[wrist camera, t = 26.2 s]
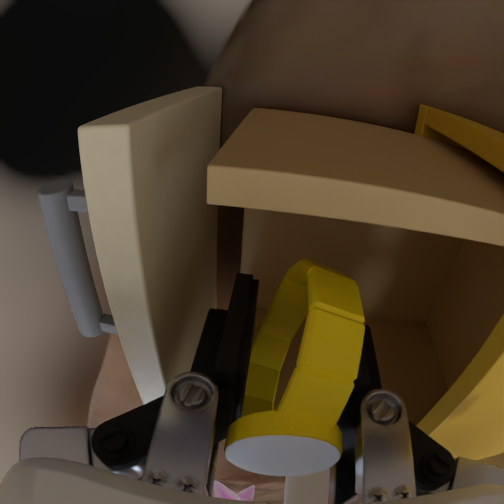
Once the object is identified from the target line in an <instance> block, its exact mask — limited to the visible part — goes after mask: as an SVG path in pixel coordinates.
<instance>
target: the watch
mask: <svg viewBox="0 0 504 504" xmlns="http://www.w3.org/2000/svg"><path fill="white" fill-rule="evenodd" d="M306 317H307V319H306V324H305V328H304V333H303V337H302V341H301V346H300V350H299V354H298V359H297V363H296V365H297V367H296V368H295V369H294V371H293V374H292V376H291V378H290V381H289V383H288V385H287V388H286V390H285V392H284V395H283V397H282V399H281V401H280V404H279V406H278V408H277V410H274V404H273V402H274V400H275V395H276V390H277V386H278V381H279V376H280V372H279V371H281V369H282V366H283V363H284V360H285V358H286V355H287V352H288V349H289V346H290V343H291V340H292V339H293V337H294V336H295V334H296V332H297V331H298V329H299V328H300V326H301V325H302V323H303V321H304V320H305V318H306ZM364 322H365V318H364V313H363V308H362V303H361V298H360V294H359V289H358V286H357V284H356V282H355V281H354V280H353V279H351V278H349V277H348V276H346V275H345V274H343V273H341V272H339V271H336V270H334V269H331V268H329V267H326V266H323V265H321V264H318V263H316V262H313V261H310V260H308V259H302V260H299V261H298V262H297V263H296V264H295V265H293V266H292V267H291V268H290V269H289V270H287V272H286V274H285V276H284V278H283V280H282V282H281V284H280V286H279V288H278V290H277V292H276V294H275V296H274V298H273V300H272V301H271V303H270V305H269V307H268V309H267V311H266V313H265V315H264V317H263V318H262V320H261V322H260V324H258V325H257V329H256V331H255V334H254V337H253V341H252V348H251V355H250V362H249V369H248V375H247V382H246V389H245V395H244V402H243V409H242V415H241V418H239V419H237V420H236V421H235V422H233V423H232V424H231V425H230V427H229V429H228V432H227V437H226V443H225V448H224V454H225V456H226V458H227V460H228V461H230V462H231V463H232V464H234V465H235V466H237V467H239V468H242V469H244V470H246V471H250V472H254V473H258V474H263V475H271V476H300V475H308V474H312V473H316V472H320V471H323V470H325V469H327V468H330V467H332V466H333V465H334V464H335V463H336V462H338V461H339V460H340V458H341V455H342V452H343V448H342V433H341V430H340V428H339V427H338V425H337V422H338V420H339V418H340V416H341V413H342V411H343V409H344V407H345V405H346V403H347V401H348V399H349V397H350V395H351V392H352V390H353V388H354V386H355V385H354V383H353V381H354V380H355V379H357V375H358V369H359V364H360V358H361V352H362V345H363V338H364V332H365V326H364V324H363V323H364Z"/></svg>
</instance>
